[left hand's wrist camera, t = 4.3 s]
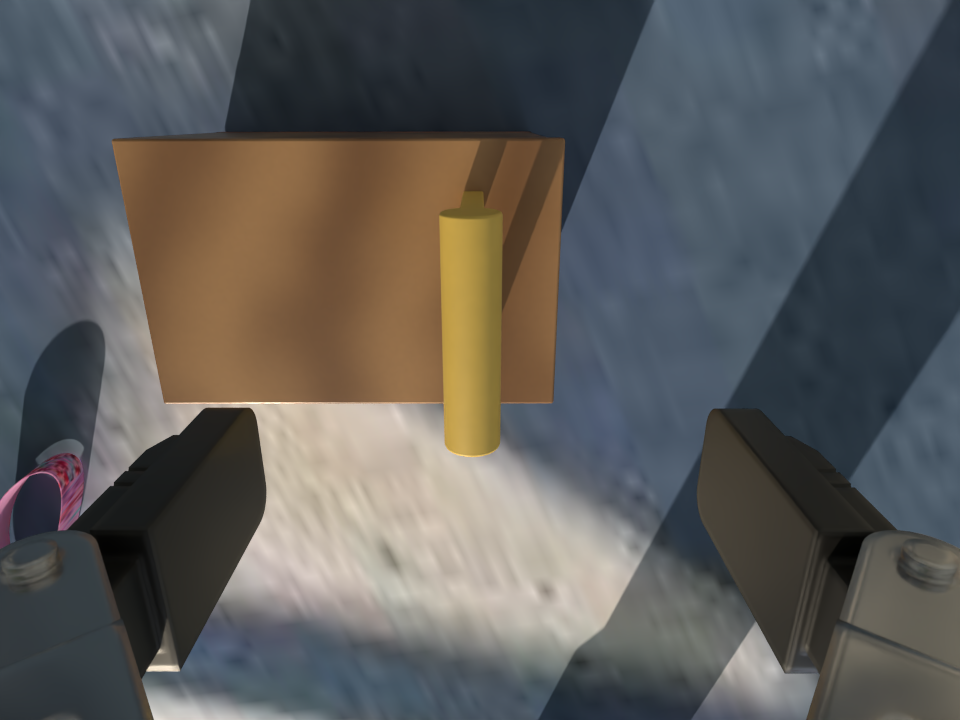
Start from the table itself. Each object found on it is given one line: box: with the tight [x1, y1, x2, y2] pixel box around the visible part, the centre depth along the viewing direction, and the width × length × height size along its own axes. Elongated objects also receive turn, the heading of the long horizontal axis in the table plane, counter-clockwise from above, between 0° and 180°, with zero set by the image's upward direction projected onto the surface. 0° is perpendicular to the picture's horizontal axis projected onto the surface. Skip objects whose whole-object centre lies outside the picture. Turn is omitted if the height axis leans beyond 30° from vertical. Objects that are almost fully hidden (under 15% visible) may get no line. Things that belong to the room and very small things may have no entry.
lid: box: [112, 138, 565, 457], centre depth 20 cm, size 15×10×8 cm, turn 90°
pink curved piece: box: [0, 453, 84, 549], centre depth 37 cm, size 11×4×2 cm, turn 157°
